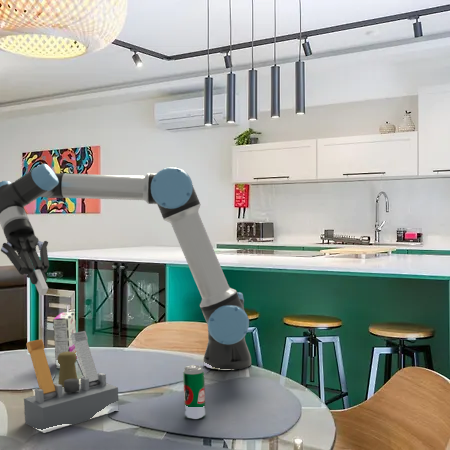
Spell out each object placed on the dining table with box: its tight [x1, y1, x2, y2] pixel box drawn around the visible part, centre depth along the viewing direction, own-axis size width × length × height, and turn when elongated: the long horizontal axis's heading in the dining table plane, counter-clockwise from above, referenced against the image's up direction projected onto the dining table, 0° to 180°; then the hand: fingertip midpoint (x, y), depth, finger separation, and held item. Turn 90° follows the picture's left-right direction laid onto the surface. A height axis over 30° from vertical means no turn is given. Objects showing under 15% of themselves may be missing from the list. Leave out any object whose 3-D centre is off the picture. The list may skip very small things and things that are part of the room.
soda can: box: [182, 364, 206, 407], centre depth 142 cm, size 5×5×12 cm
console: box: [23, 372, 120, 430], centre depth 145 cm, size 10×20×9 cm, turn 132°
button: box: [64, 378, 80, 393], centre depth 145 cm, size 4×4×2 cm
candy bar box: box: [52, 311, 77, 361], centre depth 195 cm, size 11×5×16 cm, turn 3°
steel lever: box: [70, 330, 100, 387], centre depth 151 cm, size 2×4×14 cm
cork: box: [57, 352, 79, 387], centre depth 166 cm, size 6×6×11 cm
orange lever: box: [25, 338, 57, 399], centre depth 143 cm, size 2×4×14 cm
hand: (44, 291), depth 153 cm, fingers closed
